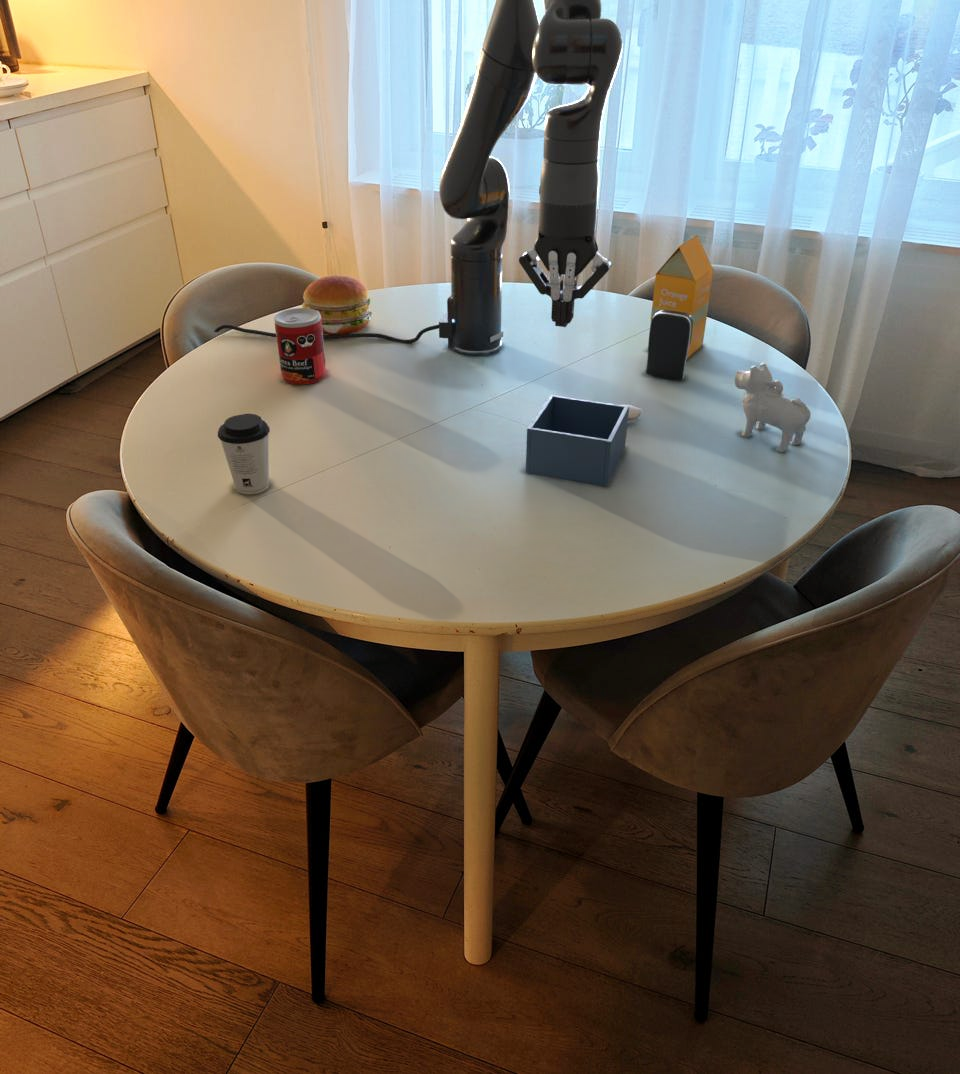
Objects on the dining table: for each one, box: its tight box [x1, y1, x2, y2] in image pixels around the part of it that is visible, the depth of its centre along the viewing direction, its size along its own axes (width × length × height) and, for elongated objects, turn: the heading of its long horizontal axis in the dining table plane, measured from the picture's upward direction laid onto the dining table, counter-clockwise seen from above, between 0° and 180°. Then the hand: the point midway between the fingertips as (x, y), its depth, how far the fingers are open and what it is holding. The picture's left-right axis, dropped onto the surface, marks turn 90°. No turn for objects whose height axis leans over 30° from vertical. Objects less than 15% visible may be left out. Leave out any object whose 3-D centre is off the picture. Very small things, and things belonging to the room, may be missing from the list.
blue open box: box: [525, 394, 629, 487], centre depth 132 cm, size 7×12×12 cm
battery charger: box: [645, 310, 693, 381], centre depth 156 cm, size 7×4×11 cm, turn 65°
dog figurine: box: [734, 362, 811, 453], centre depth 137 cm, size 5×13×11 cm, turn 40°
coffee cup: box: [217, 412, 271, 496], centre depth 124 cm, size 7×7×10 cm
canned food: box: [273, 307, 327, 386], centre depth 156 cm, size 8×8×11 cm
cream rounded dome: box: [620, 403, 643, 424], centre depth 144 cm, size 4×5×2 cm
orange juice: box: [650, 235, 715, 359], centre depth 164 cm, size 8×9×20 cm
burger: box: [301, 274, 373, 335], centre depth 176 cm, size 14×14×10 cm
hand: (561, 324), depth 126 cm, fingers closed
